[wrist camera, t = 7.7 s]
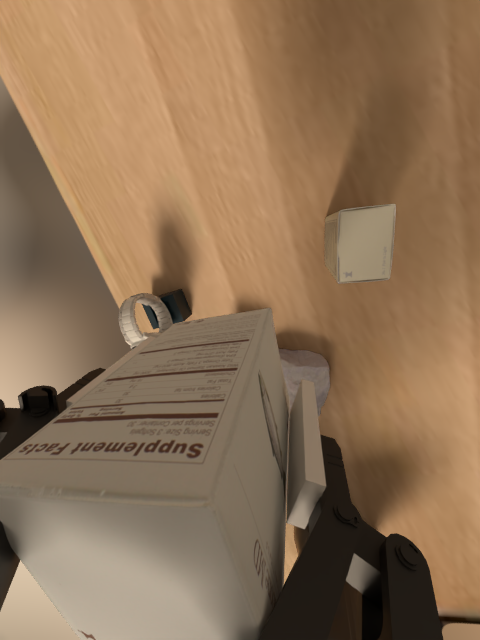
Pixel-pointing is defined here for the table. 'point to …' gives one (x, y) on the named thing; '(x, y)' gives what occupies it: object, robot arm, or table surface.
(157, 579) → the supplement box
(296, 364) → the stone block
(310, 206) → the table surface
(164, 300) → the watch
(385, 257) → the skincare box
